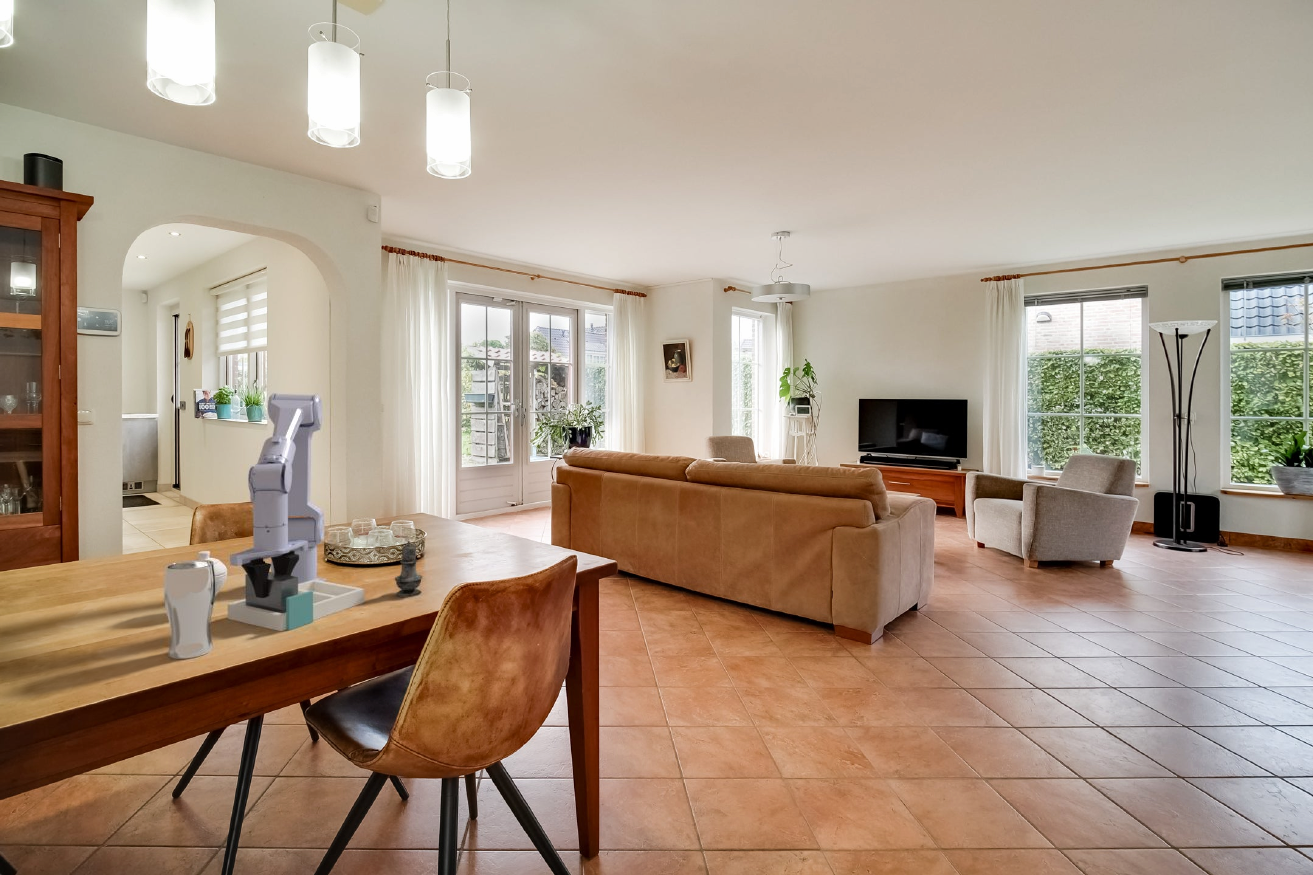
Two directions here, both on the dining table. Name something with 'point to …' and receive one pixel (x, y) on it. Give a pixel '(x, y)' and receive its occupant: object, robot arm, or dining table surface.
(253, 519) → the robot arm
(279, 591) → the dark grey block
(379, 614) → the dining table surface
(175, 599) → the beer glass
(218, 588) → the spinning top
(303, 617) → the divided tray
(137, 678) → the dining table surface
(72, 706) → the dining table surface
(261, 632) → the dining table surface
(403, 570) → the dark grey stone ornament
